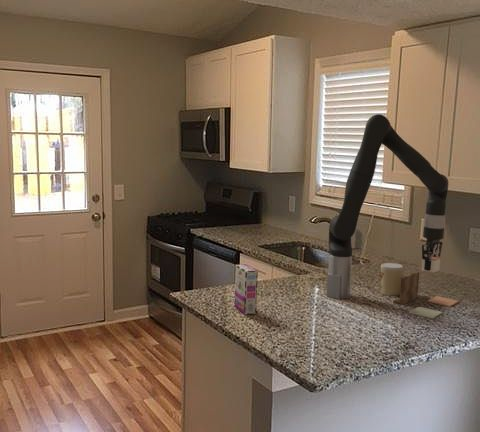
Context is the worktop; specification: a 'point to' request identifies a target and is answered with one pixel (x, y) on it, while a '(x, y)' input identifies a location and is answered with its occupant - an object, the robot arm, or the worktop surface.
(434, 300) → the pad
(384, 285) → the coffee cup
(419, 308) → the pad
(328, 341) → the worktop surface
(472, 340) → the worktop surface
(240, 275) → the candy bar box
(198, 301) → the worktop surface
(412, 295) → the screen
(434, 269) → the block
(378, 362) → the worktop surface
